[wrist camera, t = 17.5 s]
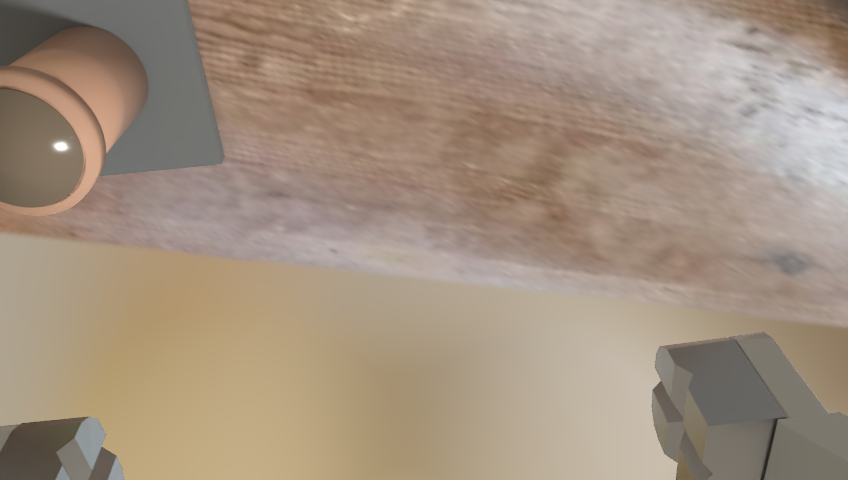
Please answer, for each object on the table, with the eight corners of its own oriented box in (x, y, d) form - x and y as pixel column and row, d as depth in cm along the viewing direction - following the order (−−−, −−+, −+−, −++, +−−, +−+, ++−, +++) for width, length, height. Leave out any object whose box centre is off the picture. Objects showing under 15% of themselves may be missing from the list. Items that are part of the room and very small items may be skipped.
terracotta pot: (130, 7, 35) (56, 64, 28) (172, 124, 39) (117, 205, 31) (9, 29, 36) (-99, 91, 28) (61, 143, 39) (-22, 228, 31)
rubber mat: (175, -49, 35) (170, -45, 34) (224, 156, 41) (221, 163, 40) (-51, -28, 35) (-62, -24, 34) (30, 175, 41) (23, 183, 40)
